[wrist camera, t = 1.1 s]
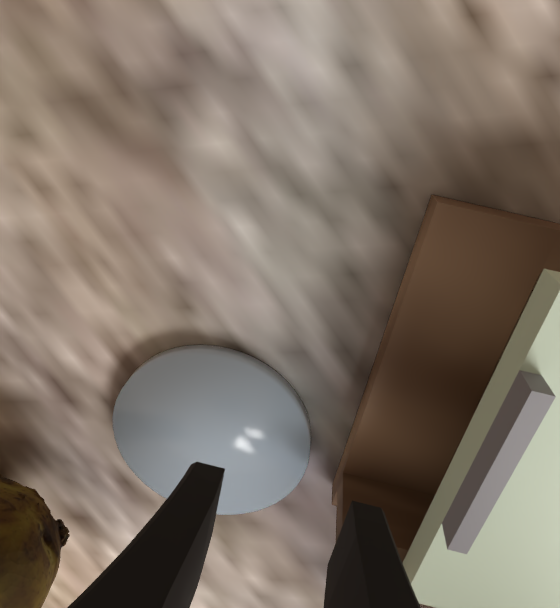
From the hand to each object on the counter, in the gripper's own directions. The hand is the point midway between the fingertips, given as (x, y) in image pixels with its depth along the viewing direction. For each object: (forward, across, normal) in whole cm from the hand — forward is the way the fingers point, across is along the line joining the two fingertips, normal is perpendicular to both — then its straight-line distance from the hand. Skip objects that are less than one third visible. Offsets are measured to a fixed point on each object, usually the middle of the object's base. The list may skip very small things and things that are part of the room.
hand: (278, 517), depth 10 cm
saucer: (+10, +3, +7) cm, 12 cm away
